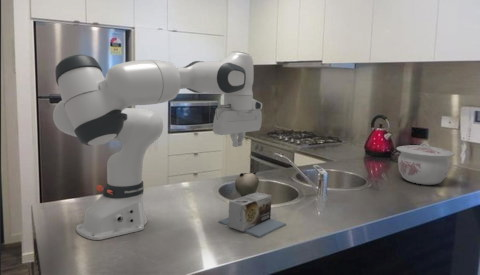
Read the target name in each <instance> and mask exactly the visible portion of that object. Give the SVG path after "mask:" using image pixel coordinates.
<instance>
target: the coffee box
mask: <svg viewBox="0 0 480 275" xmlns="http://www.w3.org/2000/svg"><path fill="white" fill-rule="evenodd" d="M272 197H273V196H272V194H269V193H264V192H262V191H256V192H255V193H252V194H249V195H246V196H243V197H242V196H240V198H239V197H238V198H234V199H230V200H229V202H228V217H229V224H228V226H227V227H229V228H232V229H235V230H236V231H239V232H242V231H244V230H247V229H249V228H251V227H253V226H255V225H258V224H260V223H262V222H264V221H266V220H269V219H270V218H271V216H272V215H271V212H272Z"/></svg>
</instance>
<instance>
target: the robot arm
mask: <svg viewBox="0 0 480 275" xmlns="http://www.w3.org/2000/svg"><path fill="white" fill-rule="evenodd" d="M253 61H254V60H253V57H252V56H251V55H250V54H249V53H247V52H241V51H231V52H229V54H228V55H227V56H226V57H225V58H223V59H221V60H219V61H202V60H201V61H200V60H194V61H192V62H190V63H188V65H186V66H183V67H176V66H175V64H173V63H172V62H170V61H165V60H158V59H139V60H131V61H130V60H129V61H125V62H120V63H116V64H115V65H113V66H111V67H110V68H109V69H108V70H107V71H106V74H105V76H104V74H103V68H102V67H101V65H100V63H99V62H98V61H97V60H96V58H94V57H93V56H90V55H88V54H87V55H86V54H74V55H70V56H68V57H64V58H62V59H61V60H60V61H59V62H58V63H57V65H56V66H55V72H54V73H55V82H56V84H57V86H58V90H59V94H60V98H61V100H60V101H59V102H58V103H57V104H56V105H55V107H54V109H53V113H52V119H53V123H54V125H55V127H56V128H57V129H58V130H59V131H60V132H62V133H64V134H66V135H68V136H72V137H75V138H77V139H78V140H79V142H80V143H81V144H82V145H85V146H102V145H105V144H108V143H109V142H122V145H121V148H120V150H119V151H117V152H115V153H114V154H112V155H110V157H109V158H108V160H107V162H106V163H107V164H106V167H107V168H106V169H107V170H106V172H107V174H106V175H107V176H106V177H107V178H106V179H107V182H106V184H105V185H101V184H97V185H96V187H95V189H96V191H97V192H100V193H102V195H100V197H99V198H97V200H95V202H93V203H92V204H91V205H90V206H89V207H88V208H87V209H86V210H85V213H84V217H83V222H81V223H79V224H77V225H76V229H75V230H76V233H77V234H78V235H80V236H82V237H84V238H86V239H89V240H93V241H101V240H105V239H109V238H114V237H119V236H122V235H127V234H132V233H136V232H139V231H143V230H144V229H145V226H146V224H147V223H148V218H147V215H146V210H145V205H144V197H143V195H144V181H143V162H144V157H145V154H146V152H147V150H148V149H149V147H150V146H152V144H153V143H154V142H156V141H157V140H158V139H159V138H160V137H161V135H162V134H163V130H164V122H163V119H162V117H161V115H160V113H158V112H157V111H154V110H152V109H151V110H150V109H146V108H138V107H136V108H135V107H134V106H149V105H158V104H163V103H167V102H169V101H172V100H174V99H176V98H177V96H178V95H179V92H180V90H181V89H184V90H185V89H186V90H188V91H189V92H192V93H196V94H203V93H204V94H221V95H224V96H225V98H224V99H225V101H224V104H219V105H218V106H217V107H216V108H215V113H214V116H213V121H212V122H213V124H212V131H213V134H215V135H218V136H225V135H230V138H231V141H232V147H234V148H239V147H242V146H243V141H244V139H245V137H246V133H249V132H250V133H251V132H257V131H260V130H261V128H262V123H263V122H262V121H263V120H262V118H263V116H262V115H263V114H262V108H263V103H262V102H260V101H258V100H256V99H254V93H253V84H254V78H255V77H254V76H255V75H254V72H255V71H254V69H255V68H254V62H253ZM132 106H133V107H132Z"/></svg>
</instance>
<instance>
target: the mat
mask: <svg viewBox="0 0 480 275" xmlns="http://www.w3.org/2000/svg"><path fill="white" fill-rule="evenodd" d="M218 223H219V224H221V225H223V226H226V227H229V226H228V224H229V216H227V217H225V218H222V219H220V220H218ZM284 226H287V223H285V222H283V221H280V220H277V219H272V218H271V217H270V219H269V220H266V221H264V222H262V223H260V224H258V225H255V226H253V227H251V228H249V229H247V230H244V231H241V232H243V233H244V234H245V233H246V234H248V235H250V236H251V235H252V237H257V238H259V239H260V238H262V237H264V236H267V235H269V234H270V233H272V232H275V231H277V230H279V229H281V228H283V227H284Z"/></svg>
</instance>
